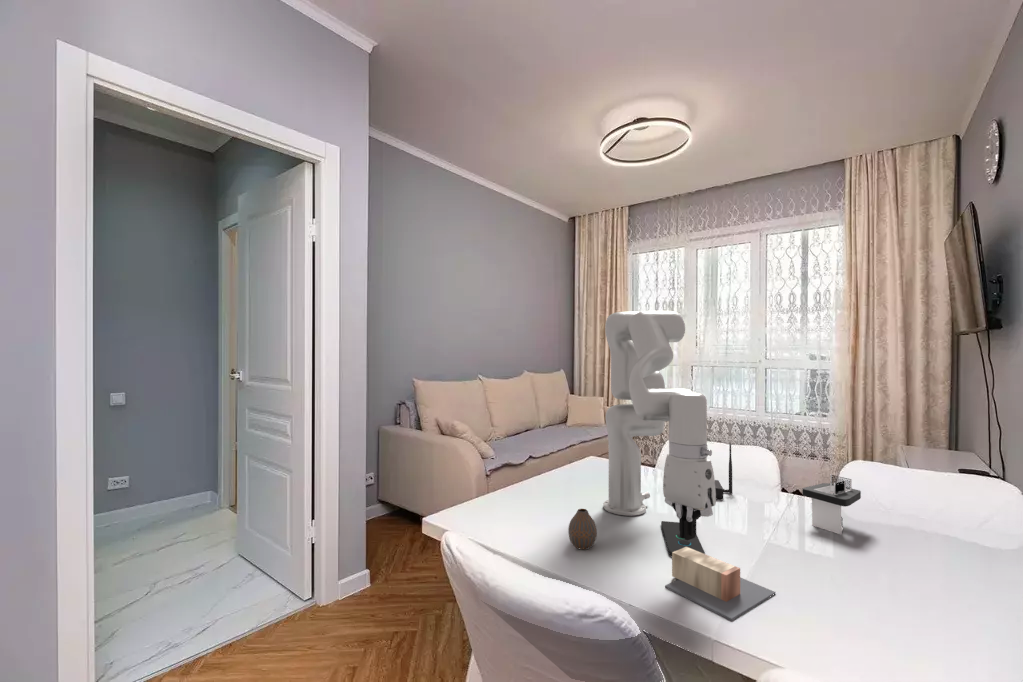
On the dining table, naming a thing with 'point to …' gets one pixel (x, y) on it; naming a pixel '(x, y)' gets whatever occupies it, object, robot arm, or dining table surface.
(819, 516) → the black-topped pedestal
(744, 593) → the mat
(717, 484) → the black wifi router
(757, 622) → the dining table surface
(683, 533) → the robot arm
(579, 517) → the vase
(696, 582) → the maple block
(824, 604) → the dining table surface
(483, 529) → the dining table surface
